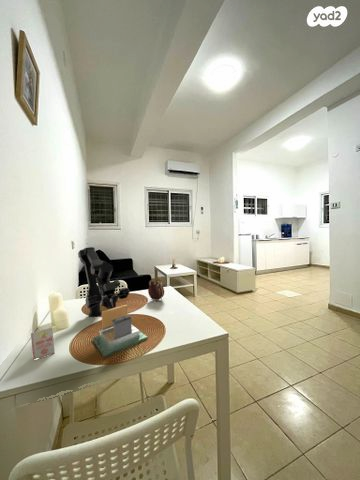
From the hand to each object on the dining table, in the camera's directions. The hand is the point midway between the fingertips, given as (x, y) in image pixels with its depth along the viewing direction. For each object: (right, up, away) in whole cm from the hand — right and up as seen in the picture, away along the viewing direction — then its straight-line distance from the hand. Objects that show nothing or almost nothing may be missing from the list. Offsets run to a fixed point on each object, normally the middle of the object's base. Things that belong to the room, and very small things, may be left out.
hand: (114, 313), depth 88 cm
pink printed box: (-24, -12, -10) cm, 29 cm away
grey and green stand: (+3, -10, -3) cm, 11 cm away
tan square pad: (0, -5, +1) cm, 5 cm away
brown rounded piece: (+14, -7, +42) cm, 45 cm away
